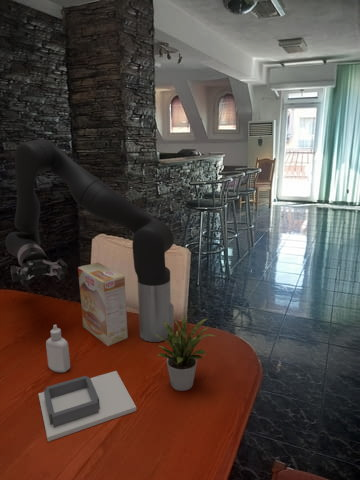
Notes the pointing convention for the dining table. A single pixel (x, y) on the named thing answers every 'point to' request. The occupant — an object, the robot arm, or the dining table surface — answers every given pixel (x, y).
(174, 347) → the house plant
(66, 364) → the eye dropper bottle
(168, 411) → the dining table surface
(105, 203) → the robot arm
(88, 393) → the bottle holder
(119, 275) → the coffeecake box
